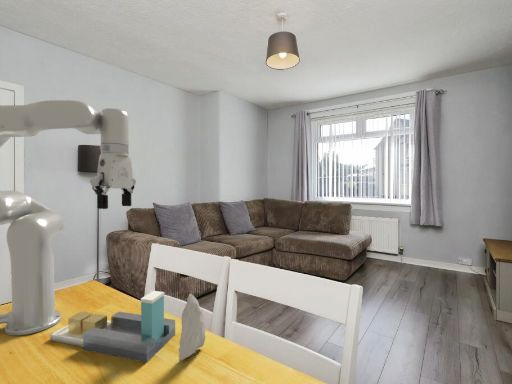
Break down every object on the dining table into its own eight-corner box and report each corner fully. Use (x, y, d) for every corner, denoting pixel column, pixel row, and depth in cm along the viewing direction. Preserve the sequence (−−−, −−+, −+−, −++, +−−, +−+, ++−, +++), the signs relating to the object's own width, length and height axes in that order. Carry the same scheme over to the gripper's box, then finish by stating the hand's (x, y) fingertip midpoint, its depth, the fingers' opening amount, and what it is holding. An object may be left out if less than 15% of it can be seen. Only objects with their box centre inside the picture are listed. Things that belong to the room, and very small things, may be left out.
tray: (50, 340, 71) (50, 334, 71) (83, 321, 81) (83, 316, 81) (84, 347, 68) (84, 341, 68) (115, 326, 78) (114, 321, 78)
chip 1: (68, 332, 74) (68, 318, 73) (81, 325, 77) (81, 311, 77) (80, 335, 73) (80, 320, 72) (93, 327, 76) (93, 313, 76)
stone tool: (184, 367, 61) (184, 301, 61) (174, 363, 63) (174, 298, 62) (209, 347, 69) (209, 288, 68) (199, 344, 70) (199, 285, 70)
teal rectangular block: (140, 342, 67) (140, 298, 67) (153, 331, 72) (153, 290, 72) (152, 344, 66) (151, 300, 66) (164, 333, 71) (164, 292, 71)
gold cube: (82, 335, 72) (82, 320, 72) (95, 327, 76) (95, 313, 76) (95, 337, 71) (95, 322, 71) (107, 330, 75) (107, 315, 75)
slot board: (83, 349, 67) (82, 333, 67) (119, 325, 79) (119, 311, 79) (147, 362, 63) (147, 345, 63) (175, 334, 74) (175, 319, 74)
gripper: (102, 147, 74) (103, 210, 75) (144, 153, 91) (144, 205, 92) (80, 147, 76) (80, 209, 77) (124, 154, 93) (125, 204, 94)
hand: (115, 207), depth 84 cm, fingers open, 9 cm apart
